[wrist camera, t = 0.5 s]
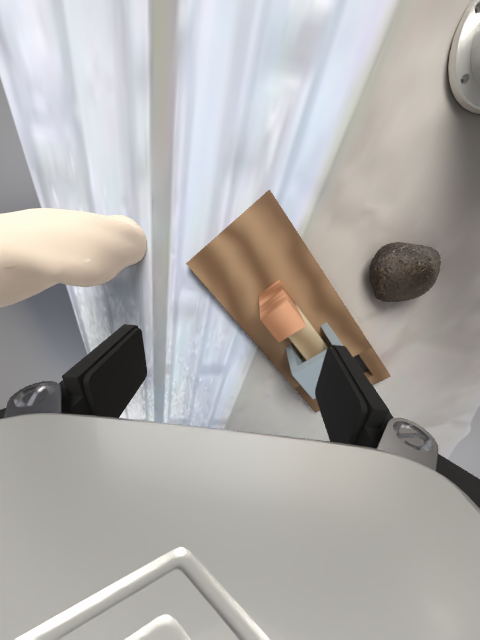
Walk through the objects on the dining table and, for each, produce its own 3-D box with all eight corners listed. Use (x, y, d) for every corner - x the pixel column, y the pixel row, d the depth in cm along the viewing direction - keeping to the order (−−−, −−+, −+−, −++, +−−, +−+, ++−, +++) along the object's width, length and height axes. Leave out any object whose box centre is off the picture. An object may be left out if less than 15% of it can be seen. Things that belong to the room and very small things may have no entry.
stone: (408, 276, 39) (467, 237, 30) (404, 317, 36) (468, 287, 27) (355, 257, 40) (396, 212, 31) (347, 296, 37) (390, 259, 28)
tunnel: (326, 322, 38) (343, 345, 31) (343, 346, 39) (363, 374, 32) (285, 347, 40) (291, 374, 33) (303, 369, 42) (312, 399, 35)
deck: (268, 191, 32) (269, 189, 30) (385, 369, 43) (390, 376, 41) (189, 261, 37) (186, 263, 35) (313, 404, 48) (315, 412, 46)
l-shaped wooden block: (279, 279, 35) (288, 301, 26) (335, 356, 40) (359, 396, 31) (258, 294, 36) (260, 320, 27) (316, 366, 42) (333, 408, 32)
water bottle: (117, 283, 39) (-138, 406, 13) (78, 236, 36) (-345, 282, 10) (162, 251, 36) (-54, 332, 11) (123, 198, 33) (-300, 136, 8)
